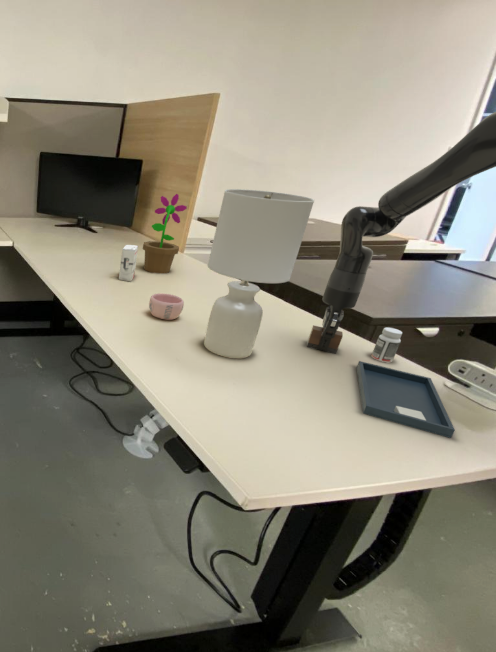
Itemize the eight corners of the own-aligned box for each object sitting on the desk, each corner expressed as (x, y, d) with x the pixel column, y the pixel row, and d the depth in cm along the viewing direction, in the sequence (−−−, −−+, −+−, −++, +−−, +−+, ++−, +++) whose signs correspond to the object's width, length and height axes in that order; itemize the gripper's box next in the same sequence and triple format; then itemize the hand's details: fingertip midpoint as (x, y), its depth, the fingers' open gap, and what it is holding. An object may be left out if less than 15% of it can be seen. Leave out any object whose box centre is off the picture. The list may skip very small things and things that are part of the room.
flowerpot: (178, 270, 193) (194, 195, 181) (168, 277, 182) (184, 198, 169) (145, 263, 200) (158, 190, 187) (133, 270, 188) (146, 193, 176)
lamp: (229, 332, 133) (267, 190, 117) (282, 362, 118) (334, 202, 101) (175, 338, 127) (207, 188, 111) (222, 370, 111) (268, 200, 95)
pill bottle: (393, 359, 124) (406, 331, 120) (390, 365, 121) (403, 335, 117) (372, 353, 127) (384, 325, 123) (369, 358, 123) (381, 329, 120)
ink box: (121, 274, 182) (126, 243, 177) (134, 276, 180) (139, 245, 175) (117, 279, 174) (122, 248, 169) (130, 281, 173) (136, 250, 168)
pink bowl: (184, 323, 137) (188, 305, 135) (151, 321, 137) (154, 302, 135) (173, 309, 148) (177, 291, 146) (142, 307, 148) (145, 289, 146)
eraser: (335, 350, 127) (342, 331, 125) (335, 354, 124) (342, 335, 122) (306, 343, 130) (313, 325, 128) (306, 347, 127) (312, 329, 125)
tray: (355, 368, 117) (358, 360, 116) (427, 385, 111) (430, 378, 110) (362, 414, 97) (366, 405, 96) (450, 439, 91) (455, 430, 90)
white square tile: (418, 416, 96) (421, 411, 96) (424, 426, 93) (426, 421, 93) (393, 410, 98) (396, 405, 97) (398, 419, 95) (400, 414, 94)
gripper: (362, 296, 113) (338, 360, 120) (359, 283, 124) (337, 342, 131) (327, 290, 116) (305, 352, 123) (327, 277, 127) (307, 335, 134)
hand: (322, 346), depth 127 cm, fingers closed on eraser, 3 cm apart
